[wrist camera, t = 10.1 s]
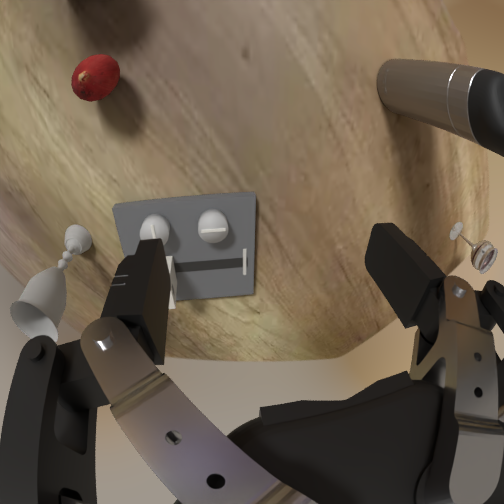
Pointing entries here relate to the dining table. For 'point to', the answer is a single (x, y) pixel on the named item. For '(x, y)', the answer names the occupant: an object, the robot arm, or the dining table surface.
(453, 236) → the wineglass
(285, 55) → the dining table surface
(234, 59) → the dining table surface
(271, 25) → the dining table surface
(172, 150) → the dining table surface
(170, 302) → the block
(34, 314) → the chalice
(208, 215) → the console
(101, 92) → the onion
